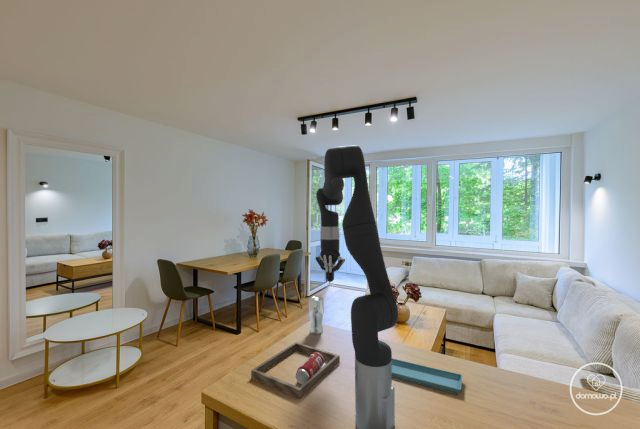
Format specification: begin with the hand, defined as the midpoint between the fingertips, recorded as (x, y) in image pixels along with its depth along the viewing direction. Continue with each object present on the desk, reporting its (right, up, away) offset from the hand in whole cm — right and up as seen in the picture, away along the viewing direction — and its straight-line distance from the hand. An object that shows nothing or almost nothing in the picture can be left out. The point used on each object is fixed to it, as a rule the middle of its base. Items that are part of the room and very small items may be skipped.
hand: (330, 281), depth 113 cm
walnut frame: (-12, -27, -15) cm, 33 cm away
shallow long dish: (+28, -28, -19) cm, 44 cm away
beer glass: (-6, -27, +17) cm, 33 cm away
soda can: (-5, -25, -13) cm, 28 cm away
